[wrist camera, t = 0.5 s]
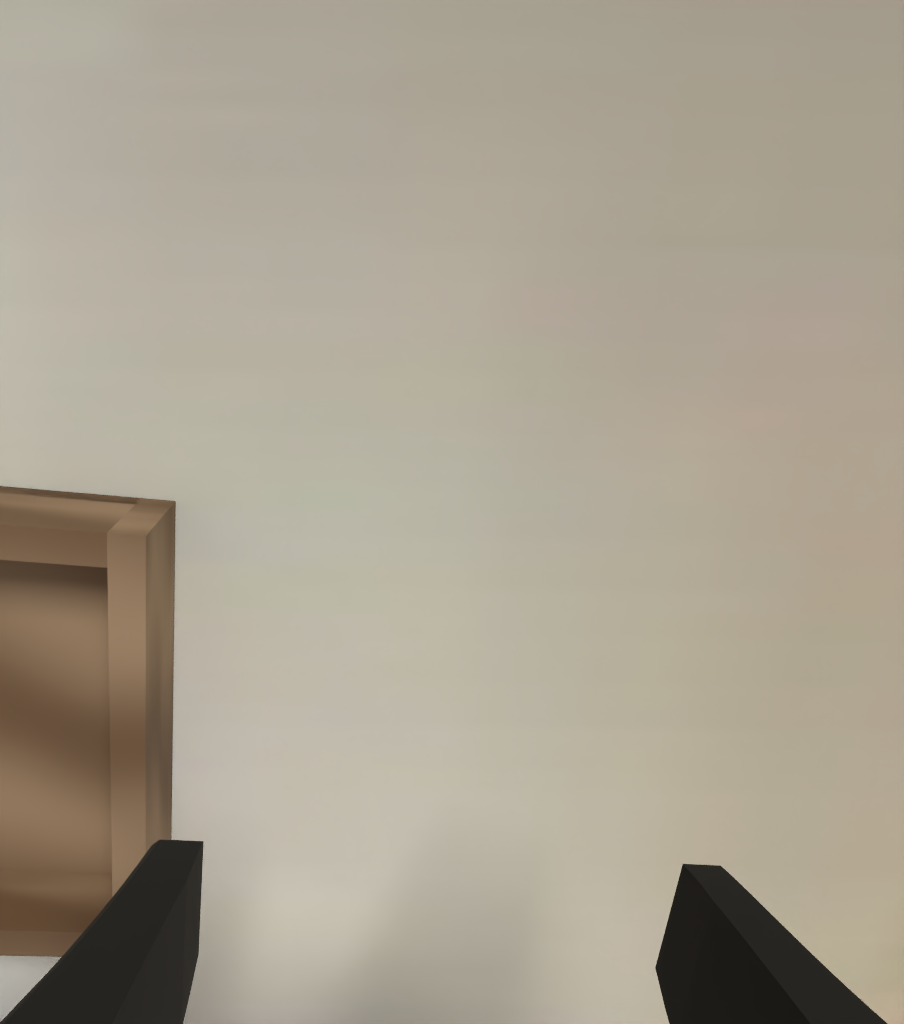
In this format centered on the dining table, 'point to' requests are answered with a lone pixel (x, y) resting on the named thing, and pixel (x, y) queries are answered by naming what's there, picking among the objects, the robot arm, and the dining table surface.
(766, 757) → the dining table surface
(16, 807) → the brown tray
